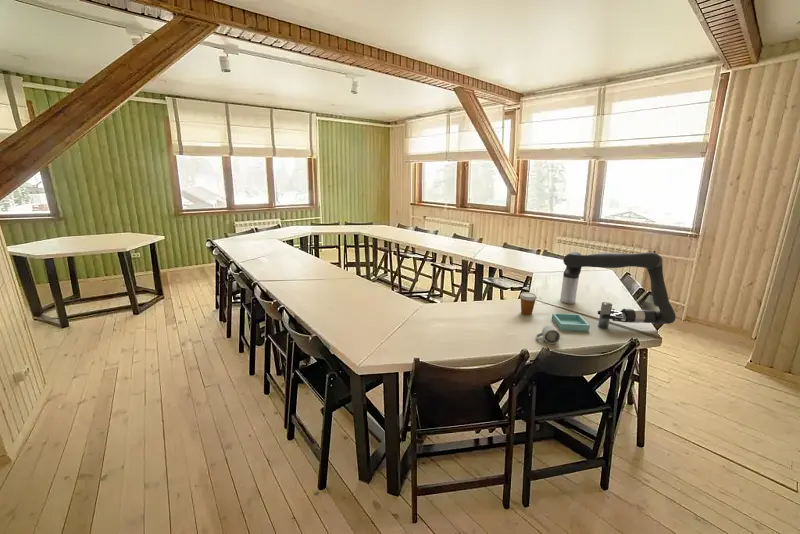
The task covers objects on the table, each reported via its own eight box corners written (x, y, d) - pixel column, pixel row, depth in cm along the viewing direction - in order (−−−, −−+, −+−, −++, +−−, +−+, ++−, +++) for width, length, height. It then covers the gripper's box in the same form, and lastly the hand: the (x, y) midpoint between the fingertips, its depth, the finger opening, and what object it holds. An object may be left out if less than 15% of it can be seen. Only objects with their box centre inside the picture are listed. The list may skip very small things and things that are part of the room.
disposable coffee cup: (524, 317, 212) (526, 298, 209) (515, 311, 221) (517, 292, 218) (538, 315, 215) (540, 296, 211) (528, 309, 223) (530, 291, 220)
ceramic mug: (555, 337, 187) (556, 324, 185) (559, 344, 179) (561, 330, 177) (534, 336, 188) (535, 322, 186) (537, 343, 181) (538, 329, 179)
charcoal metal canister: (596, 325, 202) (600, 301, 198) (605, 325, 201) (609, 302, 198) (600, 328, 197) (604, 305, 193) (609, 329, 196) (613, 305, 193)
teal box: (551, 319, 209) (552, 313, 208) (578, 320, 207) (579, 314, 206) (559, 330, 195) (560, 323, 193) (588, 332, 193) (589, 325, 192)
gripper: (627, 304, 201) (595, 303, 203) (641, 314, 188) (607, 313, 189) (624, 316, 203) (593, 315, 205) (638, 327, 190) (604, 326, 191)
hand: (600, 314), depth 197 cm, fingers closed on charcoal metal canister, 5 cm apart
